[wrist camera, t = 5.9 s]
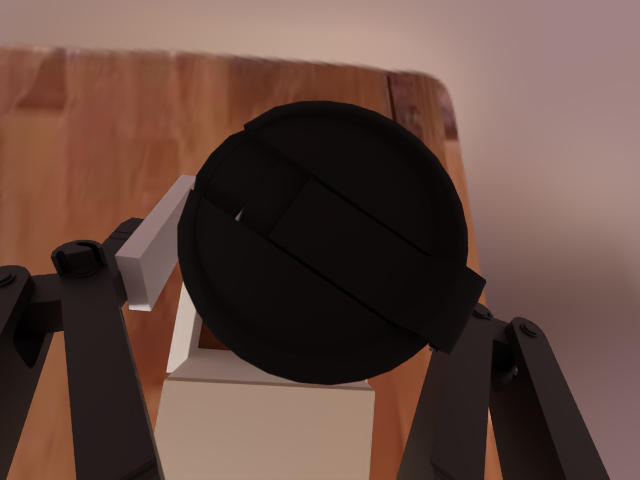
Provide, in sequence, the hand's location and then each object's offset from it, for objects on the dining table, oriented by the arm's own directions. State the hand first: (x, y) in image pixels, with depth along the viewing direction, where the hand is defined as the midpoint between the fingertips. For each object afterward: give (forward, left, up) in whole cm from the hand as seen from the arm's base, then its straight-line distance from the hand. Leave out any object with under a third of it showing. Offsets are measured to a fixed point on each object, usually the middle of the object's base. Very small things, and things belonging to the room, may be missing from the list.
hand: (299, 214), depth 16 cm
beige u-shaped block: (+7, -5, -9) cm, 12 cm away
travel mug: (+2, -2, -9) cm, 10 cm away
